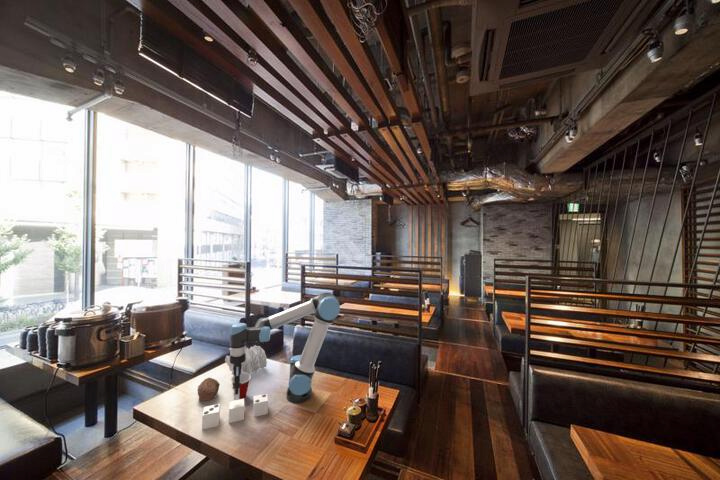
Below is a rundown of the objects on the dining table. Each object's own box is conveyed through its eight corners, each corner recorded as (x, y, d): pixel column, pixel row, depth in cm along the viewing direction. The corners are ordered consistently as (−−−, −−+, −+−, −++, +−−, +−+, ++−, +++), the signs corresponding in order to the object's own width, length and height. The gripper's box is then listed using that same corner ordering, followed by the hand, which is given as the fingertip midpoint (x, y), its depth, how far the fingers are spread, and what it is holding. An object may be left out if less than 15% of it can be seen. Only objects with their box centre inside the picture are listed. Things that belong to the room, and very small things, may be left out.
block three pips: (219, 417, 137) (219, 403, 137) (218, 425, 131) (218, 411, 131) (203, 420, 134) (204, 406, 134) (202, 429, 128) (202, 415, 128)
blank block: (243, 411, 142) (244, 398, 142) (243, 419, 136) (244, 406, 136) (229, 414, 139) (229, 401, 139) (228, 423, 133) (229, 409, 133)
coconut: (200, 392, 158) (200, 375, 158) (221, 389, 162) (221, 373, 162) (194, 405, 146) (194, 387, 146) (216, 402, 149) (217, 384, 149)
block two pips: (266, 406, 147) (266, 393, 147) (267, 413, 140) (268, 400, 141) (253, 409, 144) (253, 396, 144) (253, 417, 138) (253, 403, 138)
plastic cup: (236, 405, 146) (237, 384, 146) (226, 398, 153) (227, 377, 153) (254, 396, 155) (255, 376, 155) (244, 390, 162) (245, 370, 162)
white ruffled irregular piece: (266, 374, 189) (233, 388, 167) (252, 357, 197) (220, 369, 176) (275, 353, 185) (243, 365, 164) (261, 337, 194) (229, 347, 173)
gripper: (230, 350, 142) (228, 393, 142) (229, 360, 130) (227, 408, 130) (245, 348, 145) (244, 390, 145) (245, 358, 133) (244, 404, 133)
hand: (236, 399), depth 137 cm, fingers closed
